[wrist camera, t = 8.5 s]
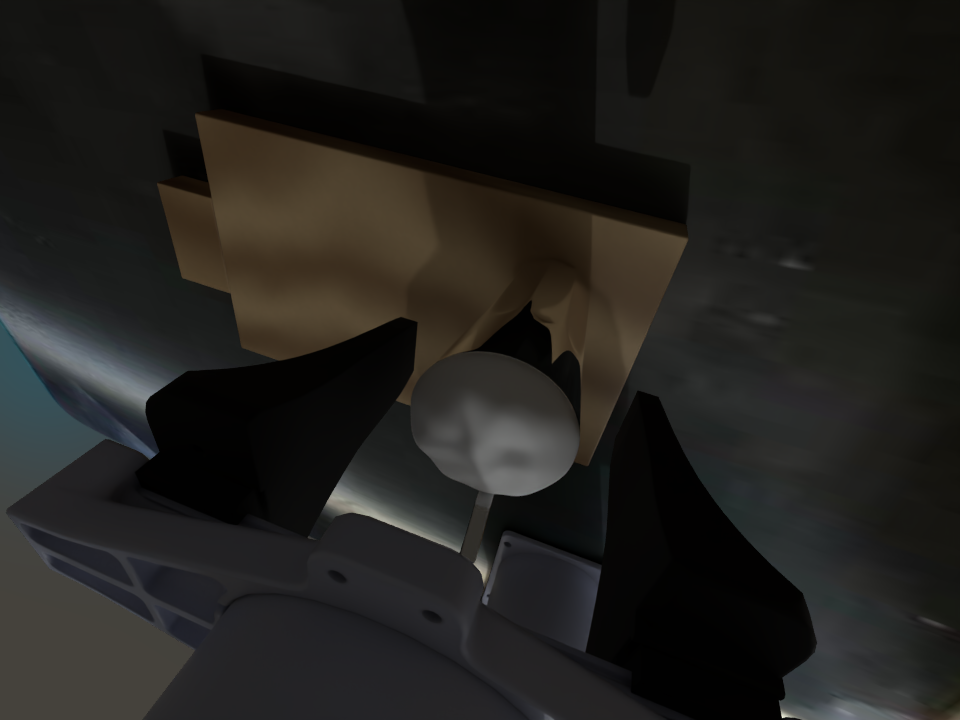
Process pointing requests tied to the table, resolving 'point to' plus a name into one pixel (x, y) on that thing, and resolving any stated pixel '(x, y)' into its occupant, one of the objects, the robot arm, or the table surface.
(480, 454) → the milkshake
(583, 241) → the board
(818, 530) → the table surface
